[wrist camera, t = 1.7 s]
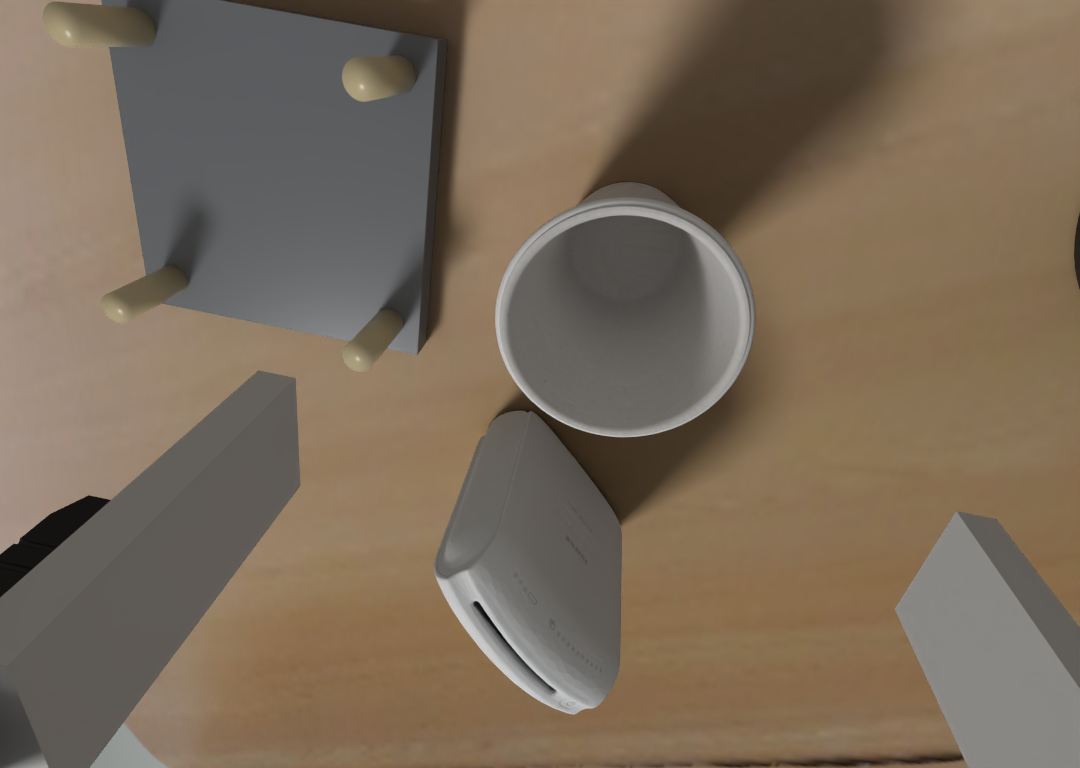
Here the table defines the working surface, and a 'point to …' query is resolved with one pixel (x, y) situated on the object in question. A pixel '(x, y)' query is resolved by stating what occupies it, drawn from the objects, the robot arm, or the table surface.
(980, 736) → the robot arm
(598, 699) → the photo printer
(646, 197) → the dixie cup
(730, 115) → the table surface
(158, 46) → the plate
